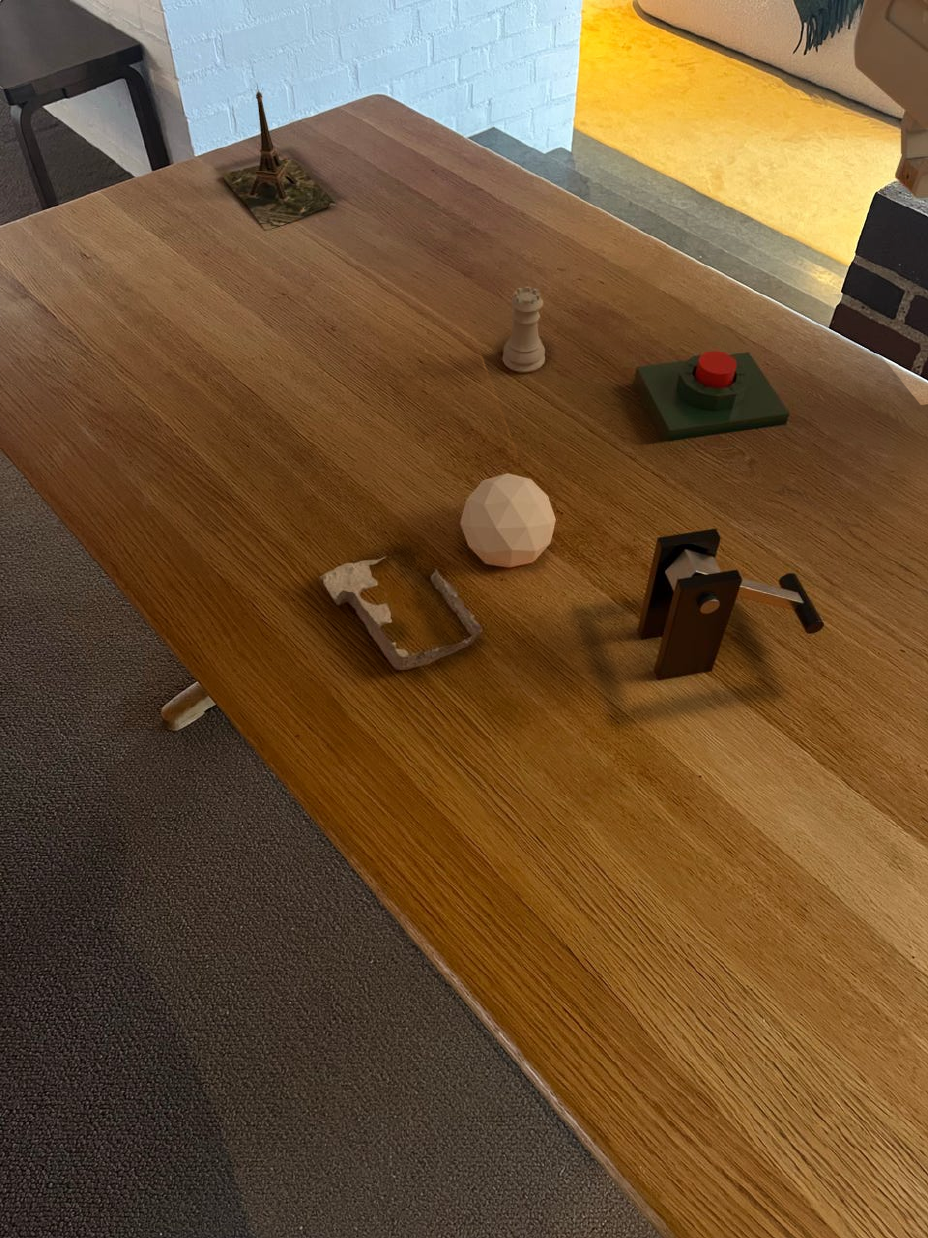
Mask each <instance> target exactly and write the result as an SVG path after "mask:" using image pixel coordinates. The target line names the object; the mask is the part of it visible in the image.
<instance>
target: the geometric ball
mask: <svg viewBox="0 0 928 1238" xmlns="http://www.w3.org/2000/svg"><path fill="white" fill-rule="evenodd" d="M556 521H557V519H556V516H555V513H554V509H553V507H552V503H551V501H550V497H549V496H548V495H547V494H546V492H544V491H543V490H542V488H540V487H539V486H538V485H537V483H536V482H534V480H532V479H531V478H529V477H524V476H520V475H517V474H513V473H509V472H506V473H502V474H499V475H496V476H493V477H490V478H489V477H488V478H486V479H483V480H482V481H480V483H479V484H478V485H477V486H476V488H475V489H474V490H473V491H472V492H471V494H470V495H469V496H468V497H467V498H466V500H465V503H464V507H463V511H462V515H461V519H460V522H459V524H460V527H461V530H462V532H463V535H464V538H465V541H466V544H467V546H468V548H469V549H470V550H472V552H473V553H474V554H475V555H476V556H477V557H478V558H479V559H480V560H481V561H482V562H483V563H484V564H486V565H489V566H496V567H503V568H513V567H519V566H524V565H528V564H531V563H534V562H535V561H536V560H537V559H538V558H539V556H540V555H542V554H543V552H544V551H545V550H546V549H547V548H548V547H549V546H550V545H551V542H552V540H553V539H552V538H553V534H554V530H555V525H556Z"/></svg>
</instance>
